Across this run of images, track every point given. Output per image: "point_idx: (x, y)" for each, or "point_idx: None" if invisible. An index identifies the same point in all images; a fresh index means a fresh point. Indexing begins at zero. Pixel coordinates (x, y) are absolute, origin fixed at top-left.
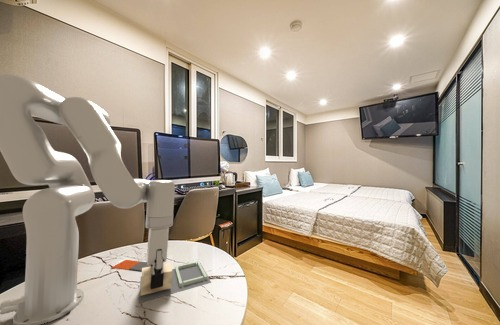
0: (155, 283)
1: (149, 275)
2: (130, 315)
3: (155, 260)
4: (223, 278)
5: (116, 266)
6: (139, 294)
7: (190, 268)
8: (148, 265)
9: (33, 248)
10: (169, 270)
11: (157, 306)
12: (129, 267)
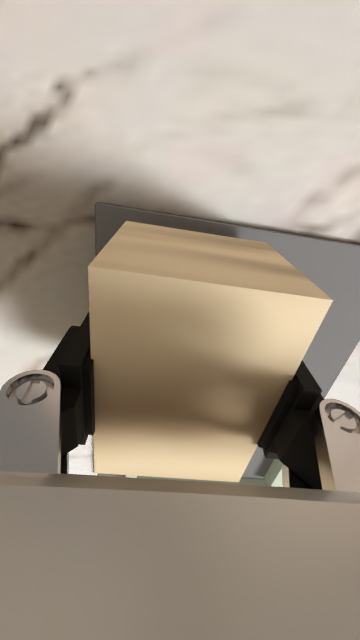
0: (65, 342)
1: (94, 342)
2: (11, 139)
3: (313, 449)
4: None
5: None
6: (191, 219)
7: (256, 458)
8: None
9: None
10: (112, 462)
11: (38, 290)
12: None
